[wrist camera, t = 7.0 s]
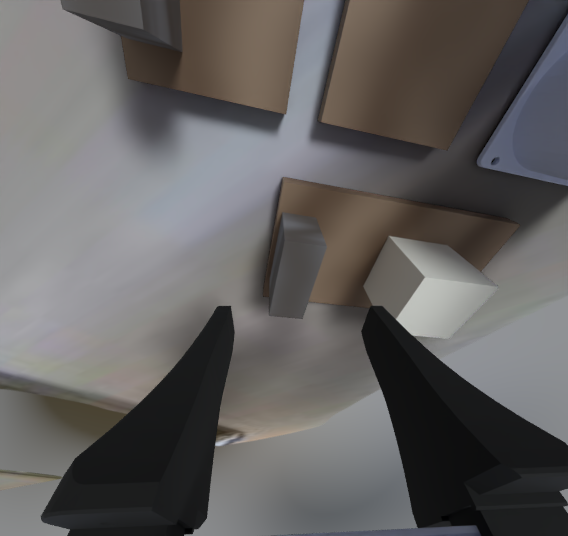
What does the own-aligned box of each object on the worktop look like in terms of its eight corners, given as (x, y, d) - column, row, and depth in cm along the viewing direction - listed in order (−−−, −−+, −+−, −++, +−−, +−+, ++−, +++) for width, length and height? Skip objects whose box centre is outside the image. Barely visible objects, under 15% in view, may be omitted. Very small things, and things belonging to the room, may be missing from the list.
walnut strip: (507, 218, 18) (580, 253, 14) (435, 307, 23) (470, 351, 19) (282, 176, 15) (286, 204, 11) (263, 287, 21) (260, 333, 17)
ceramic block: (447, 245, 18) (499, 287, 14) (414, 292, 20) (449, 338, 16) (388, 235, 17) (425, 277, 13) (363, 286, 20) (386, 333, 16)
